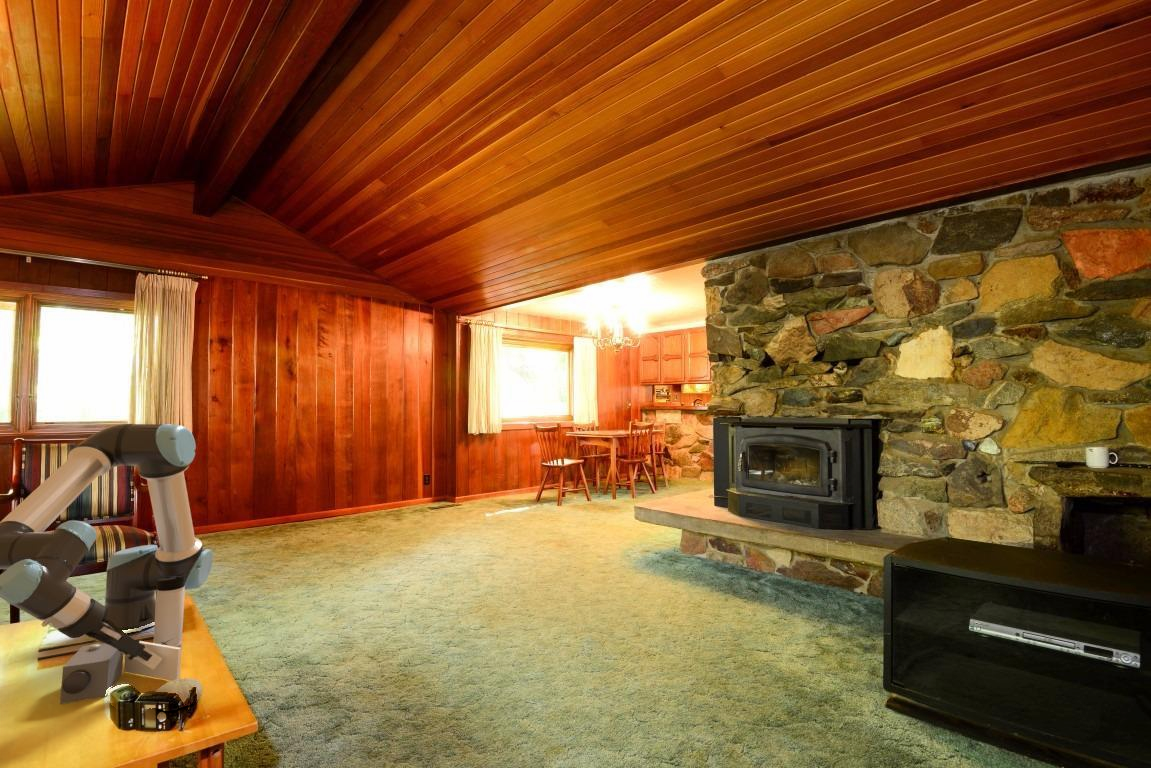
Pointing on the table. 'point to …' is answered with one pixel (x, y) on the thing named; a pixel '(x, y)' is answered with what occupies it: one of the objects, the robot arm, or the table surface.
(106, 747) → the table surface
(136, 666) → the side door
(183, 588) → the travel mug
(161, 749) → the table surface
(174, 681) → the sea urchin shell
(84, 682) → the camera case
